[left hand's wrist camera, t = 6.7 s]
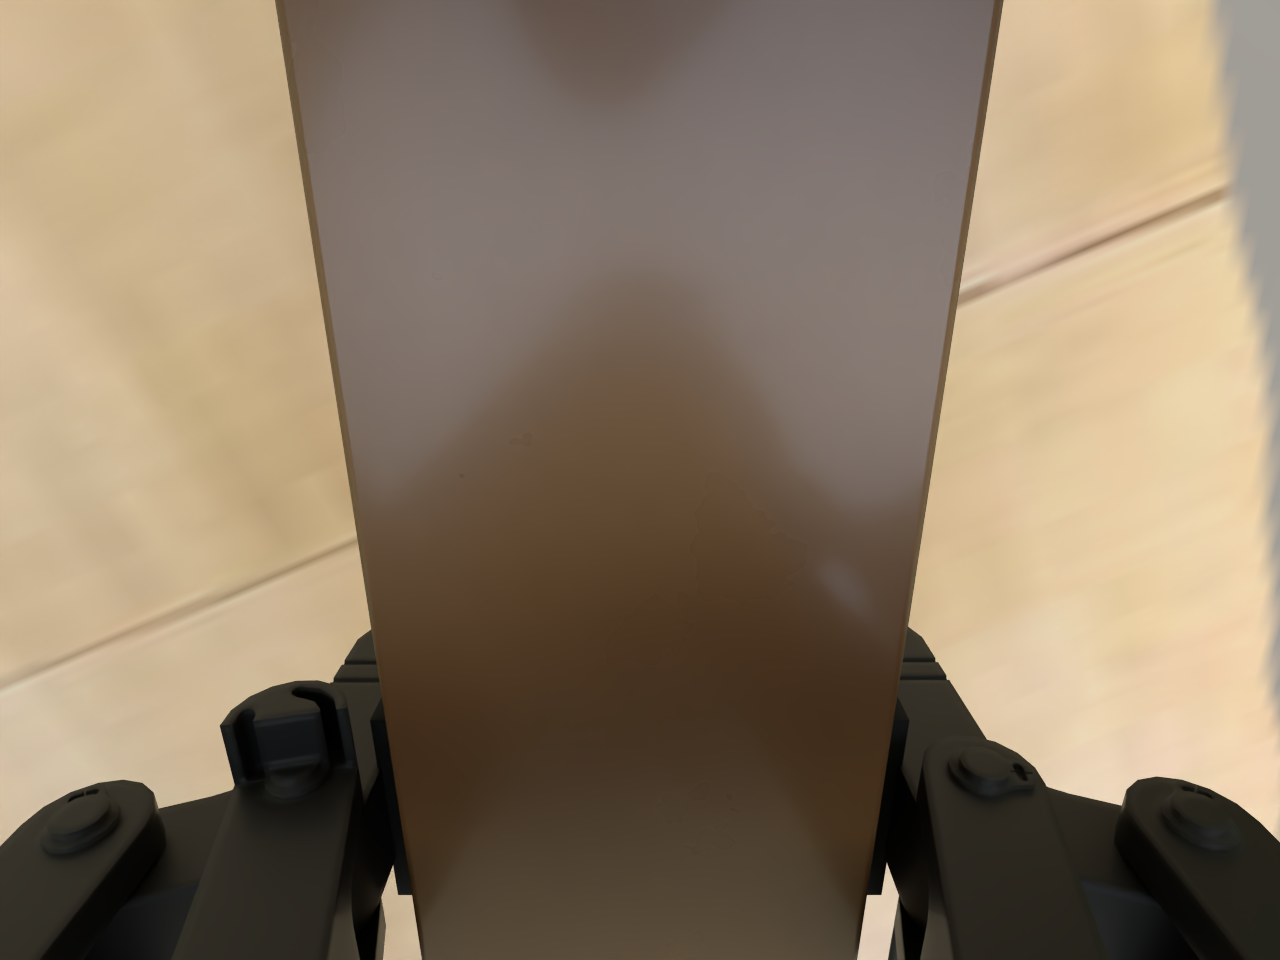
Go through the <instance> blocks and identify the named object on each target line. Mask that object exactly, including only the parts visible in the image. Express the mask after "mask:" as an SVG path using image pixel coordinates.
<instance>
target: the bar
mask: <svg viewBox="0 0 1280 960" xmlns="http://www.w3.org/2000/svg"><path fill="white" fill-rule="evenodd" d="M275 2H276V9H277V15H278V22H279V28H280V35H281V41H282V48H283V54H284V61H285V67H286V74H287V80H288V87H289V94H290V100H291V107H292V113H293V120H294V126H295V133H296V139H297V146H298V152H299V159H300V165H301V172H302V178H303V185H304V192H305V198H306V205H307V211H308V218H309V224H310V231H311V237H312V244H313V250H314V257H315V263H316V270H317V276H318V283H319V289H320V296H321V303H322V309H323V316H324V322H325V329H326V335H327V342H328V348H329V355H330V361H331V368H332V374H333V381H334V387H335V394H336V401H337V407H338V414H339V420H340V427H341V433H342V440H343V446H344V453H345V459H346V466H347V472H348V479H349V485H350V492H351V498H352V505H353V512H354V518H355V525H356V531H357V538H358V544H359V551H360V557H361V564H362V570H363V577H364V583H365V590H366V596H367V603H368V610H369V616H370V623H371V629H372V636H373V642H374V649H375V655H376V662H377V668H378V675H379V681H380V688H381V694H382V701H383V707H384V714H385V721H386V727H387V734H388V740H389V747H390V753H391V760H392V766H393V773H394V779H395V786H396V792H397V799H398V805H399V812H400V819H401V825H402V832H403V838H404V845H405V851H406V858H407V864H408V871H409V877H410V884H411V890H412V897H413V903H414V910H415V916H416V923H417V930H418V936H419V943H420V949H421V956H422V960H857V956H858V950H859V943H860V937H861V930H862V923H863V917H864V910H865V904H866V897H867V891H868V884H869V878H870V871H871V864H872V858H873V851H874V845H875V838H876V832H877V825H878V819H879V812H880V806H881V799H882V792H883V786H884V779H885V773H886V766H887V760H888V753H889V747H890V740H891V734H892V727H893V720H894V714H895V707H896V701H897V694H898V688H899V681H900V675H901V668H902V661H903V655H904V648H905V642H906V635H907V629H908V622H909V616H910V609H911V603H912V596H913V589H914V583H915V576H916V570H917V563H918V557H919V550H920V544H921V537H922V530H923V524H924V517H925V511H926V504H927V498H928V491H929V485H930V478H931V472H932V465H933V458H934V452H935V445H936V439H937V432H938V426H939V419H940V413H941V406H942V399H943V393H944V386H945V380H946V373H947V367H948V360H949V354H950V347H951V341H952V334H953V327H954V321H955V314H956V308H957V301H958V295H959V288H960V282H961V275H962V268H963V262H964V255H965V249H966V242H967V236H968V229H969V223H970V216H971V210H972V203H973V196H974V190H975V183H976V177H977V170H978V164H979V157H980V151H981V144H982V137H983V131H984V124H985V118H986V111H987V105H988V98H989V92H990V85H991V79H992V72H993V65H994V59H995V52H996V46H997V39H998V33H999V26H1000V20H1001V13H1002V6H1003V0H275Z"/></svg>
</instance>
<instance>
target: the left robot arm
mask: <svg viewBox="0 0 1280 960" xmlns="http://www.w3.org/2000/svg"><path fill="white" fill-rule="evenodd" d="M220 728H221V732H222V736H223V740H224V744H225V748H226V752H227V756H228V760H229V764H230V768H231V772H232V776H233V779H234V783H235V786H234V789H233V790H231V791H228V792H225V793H221V794H218V795H215V796H212V797H207V798H203V799H199V800H194V801H190V802H186V803H181V804H177V805H173V806H168V807H164V808H160V809H158V805H157V802H156V799H155V796H154V793H153V792H152V791H151V790H150V789H149V788H148V787H146V786H145V785H144V784H143V783H139V782H133V781H128V780H118V781H110V782H102V783H97V784H94V785H91V786H88V787H85V788H82V789H79V790H76V791H73V792H70V793H69V794H67V795H65V796H63V797H61V798H59V799H58V800H56V801H54V802H52V803H50V804H48V805H47V806H45V807H43V808H42V809H41V810H39V811H38V812H37V813H36V814H34V815H33V816H32V817H31V818H30V819H28V820H27V821H26V822H25V823H23V824H22V825H21V826H20V827H19V828H18V829H17V830H16V831H15V832H14V833H13V834H12V835H11V836H10V837H9V838H8V839H7V840H6V841H5V842H4V843H3V844H2V845H1V846H0V960H383V952H384V941H385V929H386V924H385V917H384V911H383V905H382V899H381V896H382V893H383V891H384V888H385V885H386V882H387V880H388V877H389V874H390V872H391V869H392V866H394V872H395V878H396V884H397V890H398V895H412V890H411V884H410V877H409V871H408V864H407V858H406V851H405V845H404V838H403V832H402V825H401V819H400V812H399V805H398V799H397V792H396V786H395V779H394V773H393V766H392V760H391V753H390V747H389V740H388V734H387V727H386V721H385V714H384V707H383V701H382V694H381V688H380V681H379V675H378V668H377V662H376V655H375V649H374V642H373V636H372V629H371V630H370V631H369V632H367V633H366V634H365V635H363V636H362V637H361V638H359V639H358V640H357V642H356V643H355V645H354V646H353V648H352V650H351V651H350V653H349V654H348V656H347V658H346V659H345V664H344V665H342V666H341V667H340V669H339V670H338V672H337V674H336V675H335V677H334V681H333V683H330V684H329V683H325V682H322V681H294V682H290V683H286V684H281V685H277V686H273V687H270V688H268V689H266V690H264V691H261V692H259V693H257V694H255V695H252V696H250V697H249V698H247V699H246V700H245V701H243V702H242V703H241V704H239V705H238V706H236V707H235V708H234V709H232V710H231V711H230V713H229V714H228V715H227V717H226V718H225V719H224V721H223V722H222V724H221V725H220ZM886 863H887V864H888V867H889V869H890V872H891V875H892V877H893V880H894V883H895V886H896V888H897V891H898V894H899V899H898V905H897V911H896V916H895V922H894V928H893V934H892V939H891V945H890V951H889V957H888V960H1280V842H1279V841H1278V840H1277V839H1276V838H1275V837H1274V836H1273V835H1272V834H1271V833H1270V832H1269V831H1268V830H1267V829H1266V828H1265V827H1264V826H1263V825H1262V824H1261V823H1260V822H1259V821H1258V820H1256V819H1255V818H1254V817H1253V816H1251V815H1250V814H1249V813H1248V812H1246V811H1245V810H1244V809H1243V808H1241V807H1240V806H1239V805H1238V804H1236V803H1234V802H1233V801H1231V800H1229V799H1227V798H1225V797H1223V796H1221V795H1220V794H1218V793H1216V792H1214V791H1212V790H1210V789H1208V788H1205V787H1202V786H1199V785H1196V784H1193V783H1190V782H1187V781H1184V780H1179V779H1171V778H1163V777H1152V778H1146V779H1141V780H1137V781H1136V782H1135V783H1134V784H1133V785H1131V786H1130V787H1129V788H1128V789H1127V790H1126V794H1125V797H1124V800H1123V803H1122V806H1120V805H1116V804H1112V803H1107V802H1103V801H1099V800H1094V799H1090V798H1085V797H1081V796H1077V795H1072V794H1068V793H1065V792H1062V791H1058V790H1055V789H1052V788H1049V787H1046V785H1045V783H1044V781H1043V780H1042V778H1041V776H1040V775H1039V773H1038V772H1037V770H1036V769H1035V767H1034V766H1032V765H1031V764H1030V763H1029V762H1028V761H1026V760H1025V759H1024V758H1023V757H1022V756H1020V755H1019V754H1018V753H1016V752H1014V751H1012V750H1010V749H1008V748H1006V747H1004V746H1002V745H1001V744H999V743H997V742H994V741H990V740H987V739H986V738H985V736H984V734H983V733H982V731H981V730H980V728H979V726H978V725H977V723H976V722H975V720H974V719H973V717H972V715H971V714H970V712H969V711H968V709H967V708H966V706H965V704H964V703H963V701H962V700H961V698H960V696H959V695H958V693H957V692H956V690H955V689H954V687H953V685H952V684H951V682H950V681H949V680H947V679H946V674H945V673H944V671H943V670H942V668H941V666H940V665H939V663H938V662H935V657H934V655H933V654H932V652H931V651H930V649H929V647H928V646H927V644H926V643H925V641H924V640H923V638H922V637H921V636H920V635H918V634H917V633H916V632H914V631H913V630H912V629H910V628H909V627H908V629H907V635H906V642H905V648H904V655H903V661H902V668H901V675H900V681H899V688H898V694H897V701H896V707H895V714H894V720H893V727H892V734H891V740H890V747H889V753H888V760H887V766H886V773H885V779H884V786H883V792H882V799H881V806H880V812H879V819H878V825H877V832H876V838H875V845H874V851H873V858H872V864H871V871H870V878H869V884H868V891H867V895H881V894H882V887H883V881H884V875H885V869H886Z"/></svg>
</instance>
